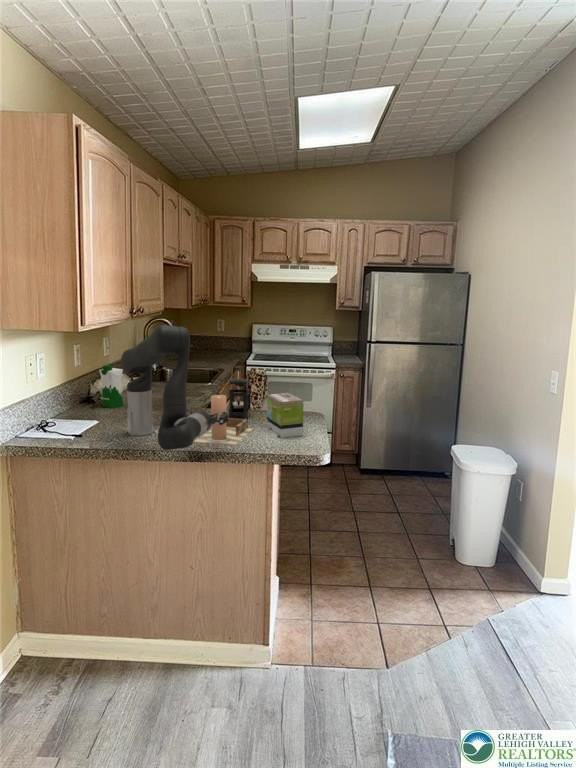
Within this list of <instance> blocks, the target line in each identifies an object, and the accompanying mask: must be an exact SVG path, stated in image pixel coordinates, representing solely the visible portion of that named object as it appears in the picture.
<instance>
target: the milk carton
mask: <svg viewBox="0 0 576 768" xmlns="http://www.w3.org/2000/svg"><path fill="white" fill-rule="evenodd" d="M112 366H113V365H110V364H104V365H102V369H99V375H100V380H101V397H102V398H101V399H102V400H101V401H102V402H101V407H102V408H108V409H114V408H120V407H124V400H123V398H124V397H123V380H122V376H123V371H124V370H123V368H115V367H112Z"/></svg>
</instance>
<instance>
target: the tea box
mask: <svg viewBox="0 0 576 768" xmlns="http://www.w3.org/2000/svg"><path fill="white" fill-rule="evenodd" d="M266 427H267V428H268V429H270V430H271V431H273V432H274V433H276V434H277V436H278V438H280V439H286V438H294V436H295V437H302V436H304V399H302V398H300V397H297V396H295V395H293V394H292V393H290V392H283V393H274V394H273V393H272V394H266ZM285 437H286V438H285Z"/></svg>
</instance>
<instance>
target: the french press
mask: <svg viewBox="0 0 576 768" xmlns="http://www.w3.org/2000/svg"><path fill="white" fill-rule="evenodd" d="M243 368H244V367H243V366H241V365H239V366H238V365H237V366H233V369H236V370H237V378H231V379H230V378H229V379H228V381H227V382H228V385H235V386H236V387H237V389H229V390H228V392H227V393H228V394H227V395H229V402H228V404H229V409H228V418H235V419H245V418H248V417H249V418H250V416H249V410H251V390H250V389H244V388H243V389H241V388H242V387H247V386H248V383H249V379H246V378H240V376H239V375H240V373H239V372H240V369H243ZM242 396H243V401H241V400H240V397H242ZM235 397H237V401H234V399H235ZM242 407H243V408H242ZM249 418H248V419H249Z"/></svg>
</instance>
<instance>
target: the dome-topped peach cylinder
mask: <svg viewBox="0 0 576 768" xmlns="http://www.w3.org/2000/svg"><path fill="white" fill-rule="evenodd" d="M210 411H211V412H210V414H213V413H217V414H221V413H222V412H226V413H227V395H225V394H212V395H211V396H210ZM214 417H215V416H214ZM219 417H220V416H219ZM211 429H212V439H213V440H224V439H226V438H227V422H226V423H224V424H223V425H219V423H216V424H212V425H211V427H210V430H211Z"/></svg>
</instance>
